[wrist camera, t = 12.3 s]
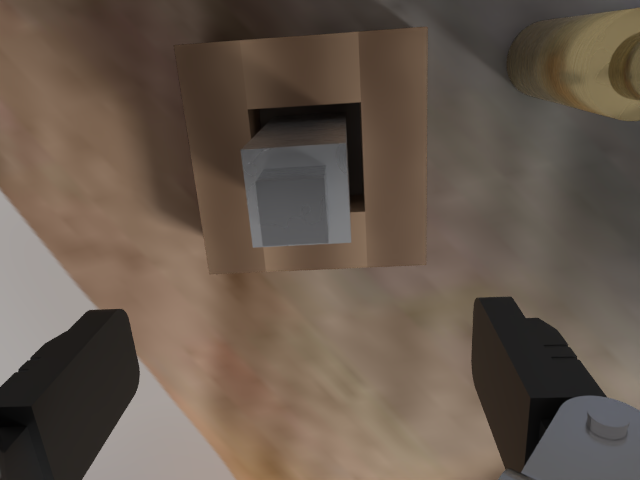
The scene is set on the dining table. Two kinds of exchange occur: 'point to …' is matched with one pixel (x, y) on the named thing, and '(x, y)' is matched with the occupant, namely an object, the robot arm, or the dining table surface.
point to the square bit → (298, 181)
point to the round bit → (582, 62)
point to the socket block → (308, 98)
